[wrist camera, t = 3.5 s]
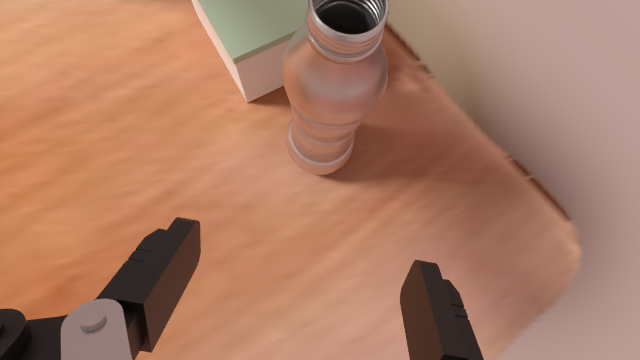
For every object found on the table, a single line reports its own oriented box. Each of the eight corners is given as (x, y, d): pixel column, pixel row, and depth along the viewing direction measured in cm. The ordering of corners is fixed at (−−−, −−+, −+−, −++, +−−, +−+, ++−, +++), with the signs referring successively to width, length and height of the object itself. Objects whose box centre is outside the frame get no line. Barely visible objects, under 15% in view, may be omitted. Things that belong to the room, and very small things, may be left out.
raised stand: (196, 15, 36) (168, -52, 28) (296, -27, 38) (296, -99, 31) (247, 104, 34) (232, 58, 26) (349, 55, 36) (363, 0, 28)
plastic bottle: (340, 113, 35) (398, -70, 15) (356, 174, 33) (441, 57, 14) (281, 124, 34) (261, -55, 14) (294, 186, 32) (291, 81, 13)
